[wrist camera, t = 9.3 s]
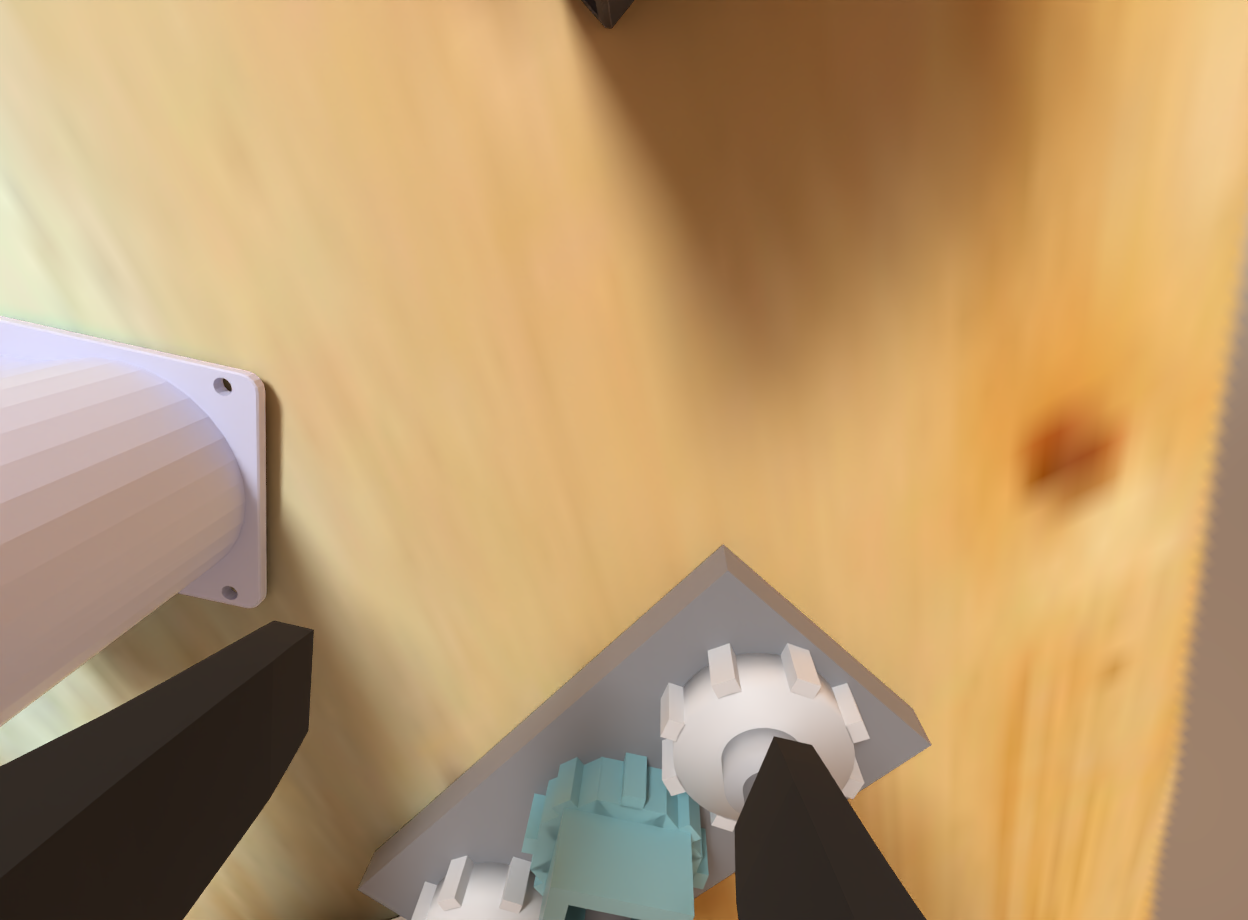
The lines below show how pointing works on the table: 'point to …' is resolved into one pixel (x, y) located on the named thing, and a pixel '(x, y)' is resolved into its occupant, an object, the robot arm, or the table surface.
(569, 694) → the gear board
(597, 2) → the ammunition clip
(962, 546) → the table surface
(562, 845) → the teal gear
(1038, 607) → the table surface
